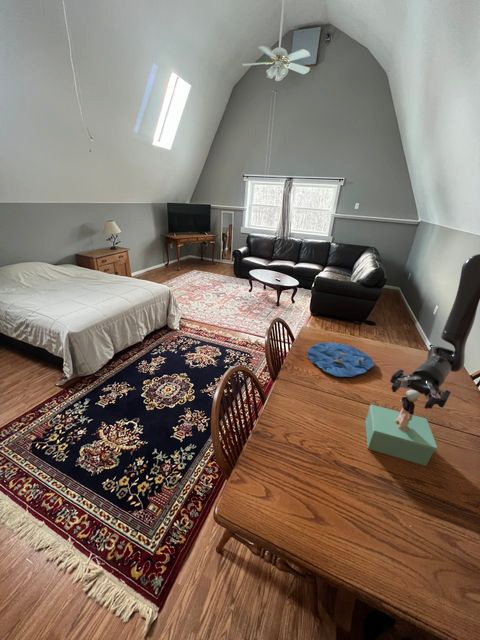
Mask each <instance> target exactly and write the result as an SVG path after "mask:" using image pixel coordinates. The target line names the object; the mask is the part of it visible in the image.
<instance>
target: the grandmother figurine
mask: <svg viewBox="0 0 480 640" xmlns="http://www.w3.org/2000/svg"><path fill="white" fill-rule="evenodd" d="M418 398H420V393H419V392H418V391H415V390H413V389H408V390H407V391H405V392H404V396H402V397H401V398H400V399H399V402H400V404H401V406H402V407H401V409H400V411H399V412H400V414H399V417H398V419H396V420H395V422H396V423H397V424H400V425H398V428H399V429H401V430H403V431H408V427H407V426H406V425H408V424H409V420H412V417H413V415H415V407H416V406H415V402H417V401H418Z"/></svg>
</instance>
